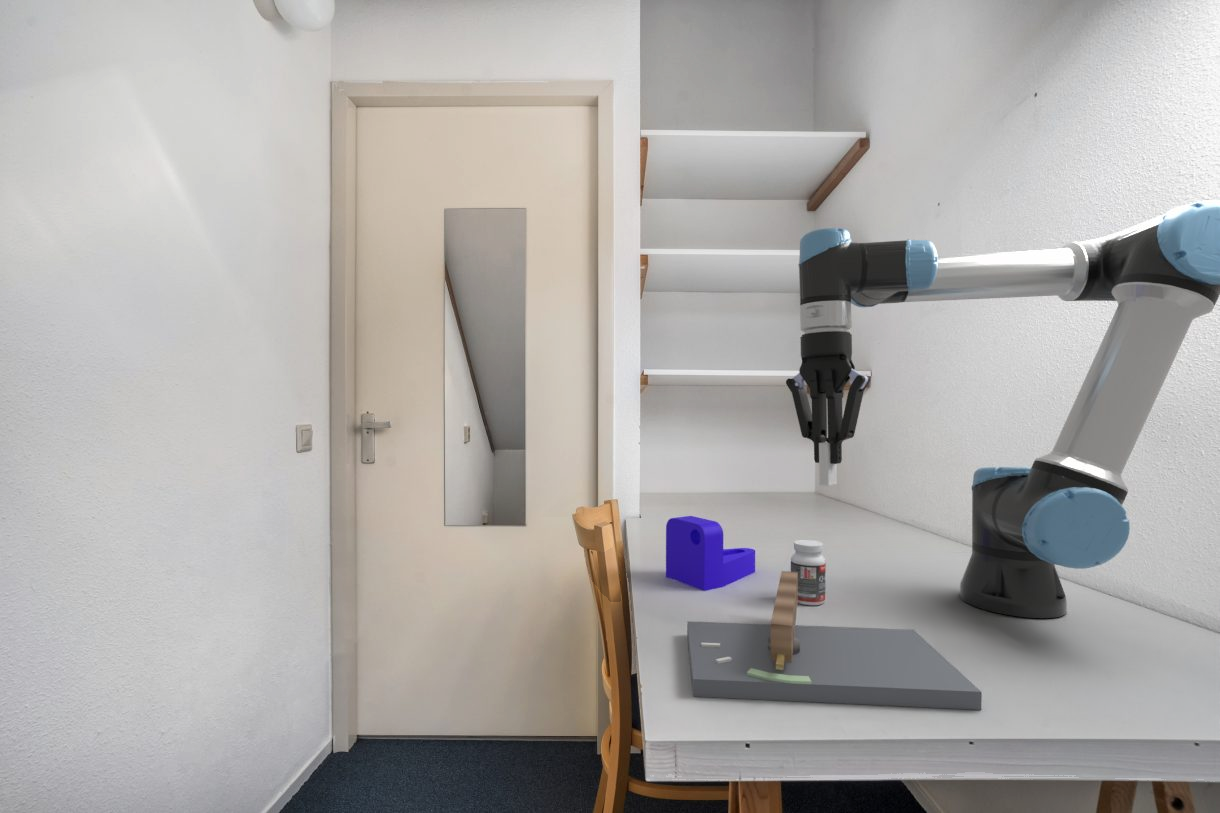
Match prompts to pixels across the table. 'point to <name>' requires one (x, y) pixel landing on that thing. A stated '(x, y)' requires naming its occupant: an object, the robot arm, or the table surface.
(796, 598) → the brown wooden bar
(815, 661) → the plate
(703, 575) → the bracket
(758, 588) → the table surface
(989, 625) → the table surface
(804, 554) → the pill bottle
